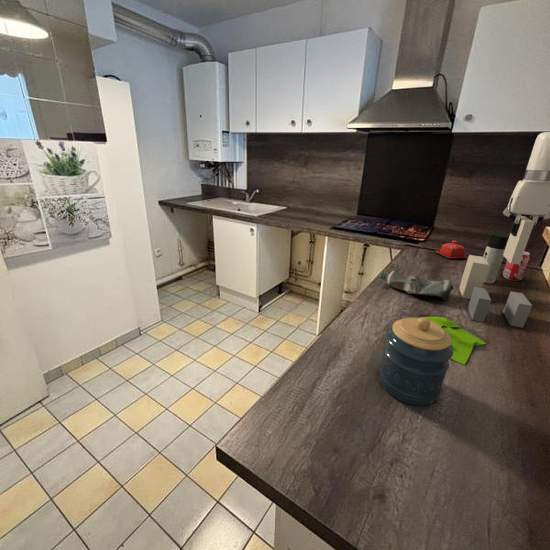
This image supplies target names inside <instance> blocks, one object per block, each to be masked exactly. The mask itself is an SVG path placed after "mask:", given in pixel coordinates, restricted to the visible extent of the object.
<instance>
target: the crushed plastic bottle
mask: <svg viewBox="0 0 550 550" xmlns="http://www.w3.org/2000/svg"><path fill="white" fill-rule="evenodd" d="M380 279H381V280H383V281H384V282H387V286H388V287H390V288H394V289H396V290H397V289H398V290H401V291H404V292H406V293H407V294H409V295H421V296H429V297H440V298H441V299H442V300H443V301H446V300H447V299H449V296H450V294H451V292H452V291H453V289H454V287H453V283H452V281H451V280H449V279H444V280H441V281H440V280H428V279H424V278H422V277H419V276H417V275H414V274H413V275H409V276H405V275H403V274H401V273H398V272H397V271H396V270H392V271H390V273H389V272H382V273H381V274H380Z"/></svg>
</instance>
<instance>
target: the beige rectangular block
mask: <svg viewBox="0 0 550 550" xmlns="http://www.w3.org/2000/svg"><path fill="white" fill-rule="evenodd" d="M488 267H489V264H488V262H487V261H486V259H485V258H484V257H483V256H479V255H471V254H469V255H468V257H467V260H466V264H465V267H464V271H463V274H462V277H461V281H460V284H459V287H458V289H459V292H460V295H461V298H462V299H466V300H467V299H468V300H470V299H471V295H472V292H473V289H474V287H478V288H483V285H484V283H483V282H484V279H485V276H486V273H487V270H488Z"/></svg>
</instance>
